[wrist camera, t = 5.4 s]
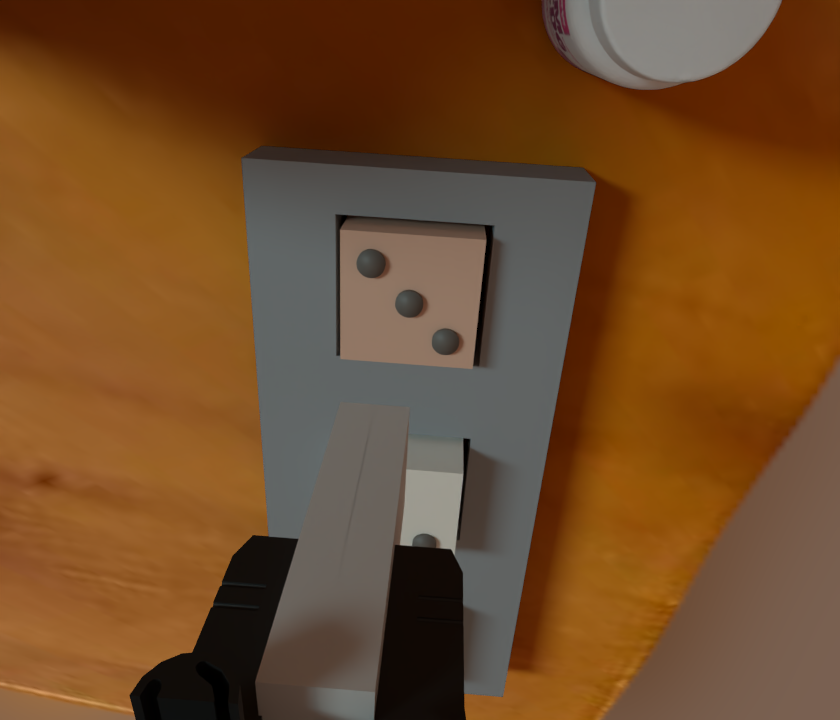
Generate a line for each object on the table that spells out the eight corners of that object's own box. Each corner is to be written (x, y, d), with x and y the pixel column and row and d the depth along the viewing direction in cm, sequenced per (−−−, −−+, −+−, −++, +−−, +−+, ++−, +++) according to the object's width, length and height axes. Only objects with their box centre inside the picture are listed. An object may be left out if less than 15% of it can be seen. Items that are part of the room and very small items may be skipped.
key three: (471, 337, 26) (472, 371, 24) (351, 329, 26) (339, 361, 24) (483, 218, 24) (486, 241, 22) (352, 209, 24) (339, 231, 22)
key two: (453, 524, 30) (452, 571, 27) (346, 515, 30) (335, 561, 27) (463, 434, 27) (463, 477, 25) (346, 425, 27) (334, 467, 25)
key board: (500, 656, 36) (502, 696, 34) (290, 637, 36) (278, 677, 34) (583, 167, 24) (596, 182, 21) (261, 145, 24) (241, 157, 22)
